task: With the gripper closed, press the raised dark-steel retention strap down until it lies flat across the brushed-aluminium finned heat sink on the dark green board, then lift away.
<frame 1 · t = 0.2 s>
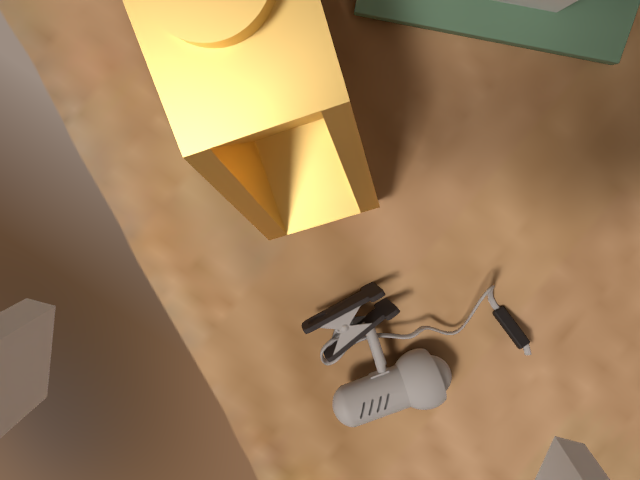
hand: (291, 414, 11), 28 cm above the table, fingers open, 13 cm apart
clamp: (289, 101, 37), on the table
clip-on lamp: (414, 328, 41), on the table
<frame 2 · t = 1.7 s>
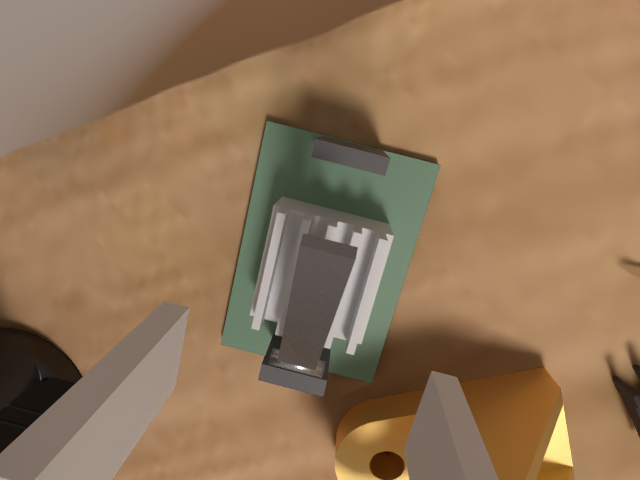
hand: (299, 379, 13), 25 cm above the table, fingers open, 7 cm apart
strap: (309, 318, 27), point 11 cm above the table, hinge at 35.0°
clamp: (440, 428, 42), on the table
heatsink base: (307, 319, 40), on the table
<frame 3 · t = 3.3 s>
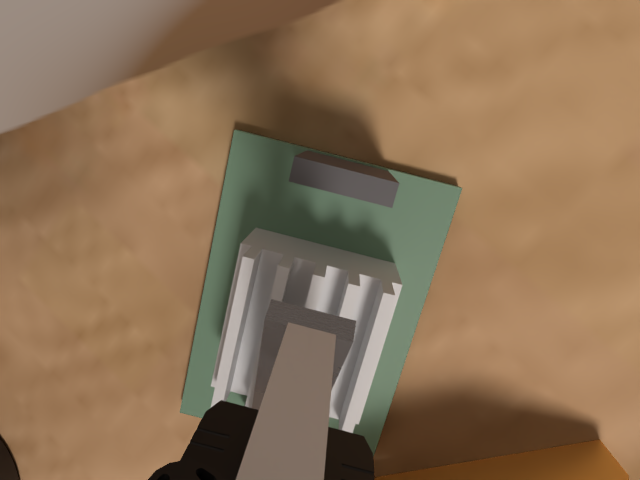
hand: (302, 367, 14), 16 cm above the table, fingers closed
strap: (285, 409, 19), point 11 cm above the table, hinge at 32.6°, touching gripper
heatsink base: (290, 380, 31), on the table
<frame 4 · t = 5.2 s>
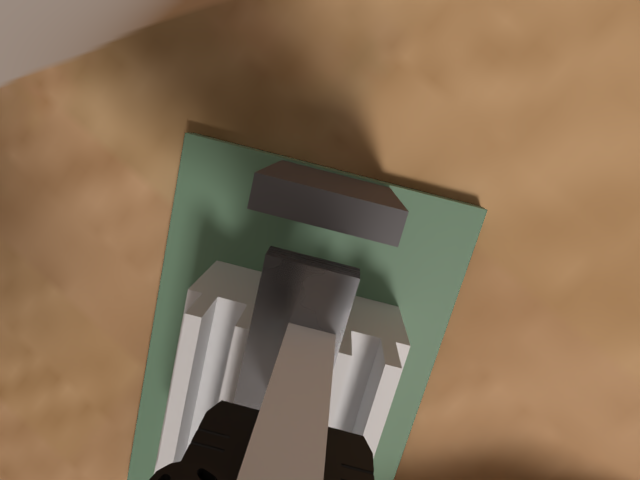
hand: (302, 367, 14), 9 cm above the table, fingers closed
strap: (265, 451, 15), point 8 cm above the table, hinge at 4.4°, touching gripper
heatsink base: (265, 449, 25), on the table
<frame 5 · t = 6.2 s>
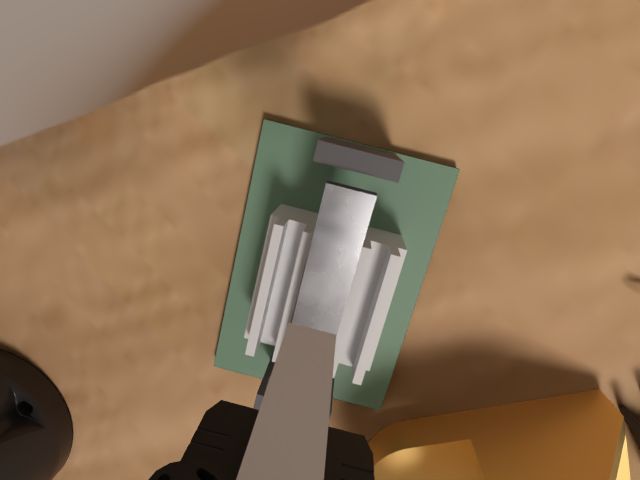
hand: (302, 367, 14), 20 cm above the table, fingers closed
strap: (320, 304, 27), point 8 cm above the table, hinge at 4.4°
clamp: (479, 454, 38), on the table
heatsink base: (309, 339, 36), on the table
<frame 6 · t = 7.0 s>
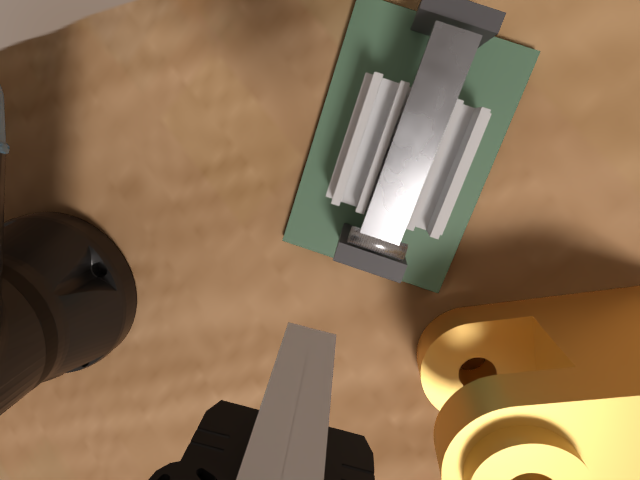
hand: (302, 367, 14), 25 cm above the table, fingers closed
strap: (412, 149, 28), point 8 cm above the table, hinge at 4.4°
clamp: (530, 346, 39), on the table
heatsink base: (375, 221, 38), on the table
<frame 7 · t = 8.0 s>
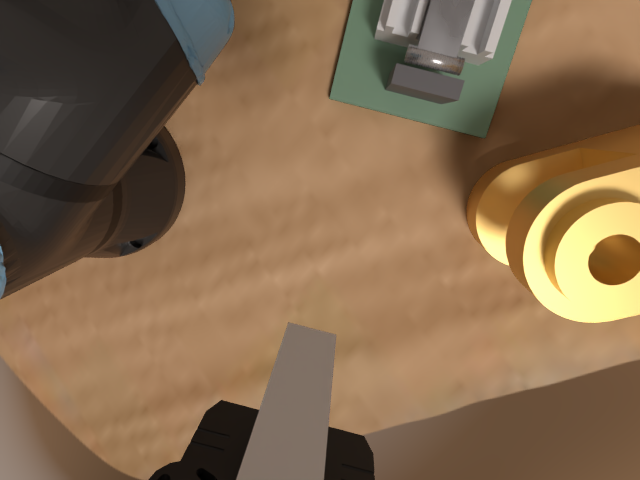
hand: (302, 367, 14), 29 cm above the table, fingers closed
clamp: (577, 193, 40), on the table
heatsink base: (419, 72, 39), on the table
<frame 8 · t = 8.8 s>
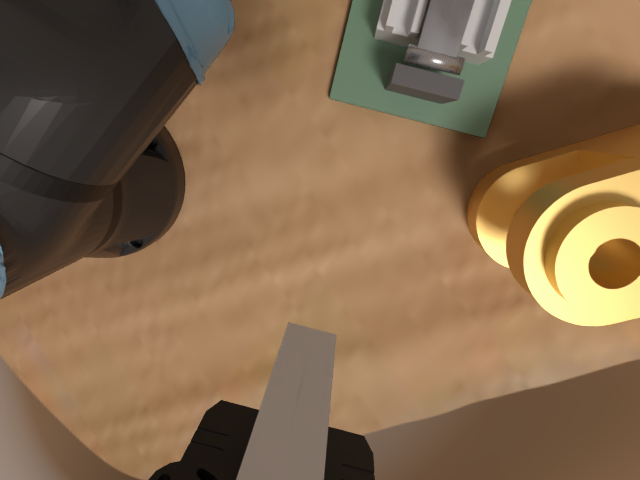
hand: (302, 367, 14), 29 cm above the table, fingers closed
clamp: (577, 194, 41), on the table, touching clip-on lamp
heatsink base: (419, 71, 39), on the table
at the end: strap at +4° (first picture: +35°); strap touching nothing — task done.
